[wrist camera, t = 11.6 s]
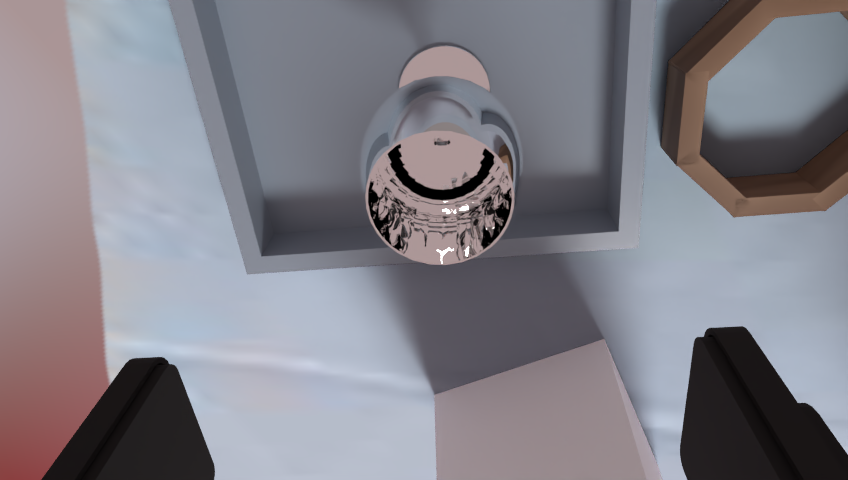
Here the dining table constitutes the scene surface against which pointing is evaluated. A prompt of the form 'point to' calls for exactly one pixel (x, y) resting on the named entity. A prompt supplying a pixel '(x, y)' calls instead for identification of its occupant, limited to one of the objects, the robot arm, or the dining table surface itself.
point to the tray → (379, 78)
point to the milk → (544, 424)
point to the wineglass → (441, 161)
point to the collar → (685, 105)
